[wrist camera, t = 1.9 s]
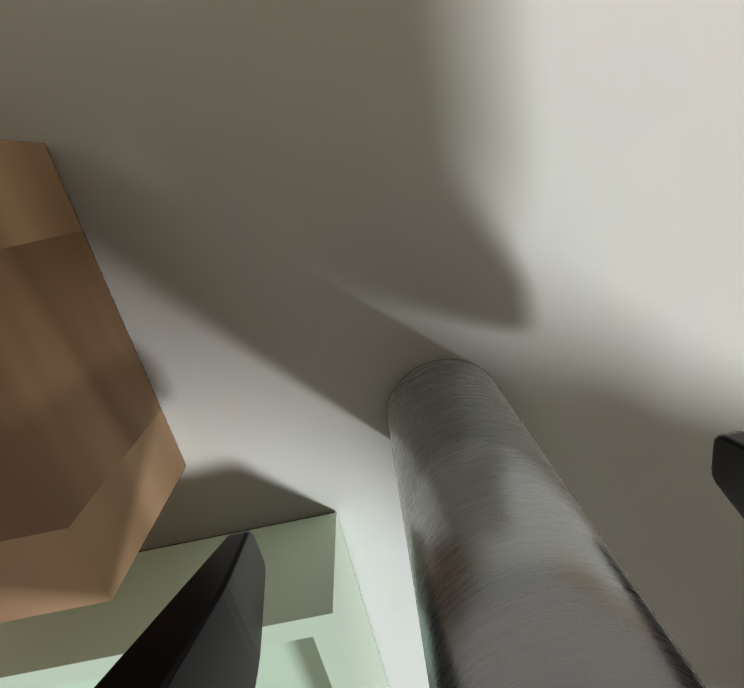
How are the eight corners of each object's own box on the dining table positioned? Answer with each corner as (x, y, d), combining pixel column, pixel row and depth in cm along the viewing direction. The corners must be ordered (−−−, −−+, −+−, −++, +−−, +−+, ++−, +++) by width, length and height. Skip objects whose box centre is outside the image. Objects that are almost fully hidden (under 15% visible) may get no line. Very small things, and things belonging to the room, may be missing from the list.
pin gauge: (494, 348, 11) (1268, 1283, 2) (506, 447, 12) (1020, 1350, 3) (376, 372, 11) (518, 1389, 2) (398, 469, 12) (556, 1414, 3)
